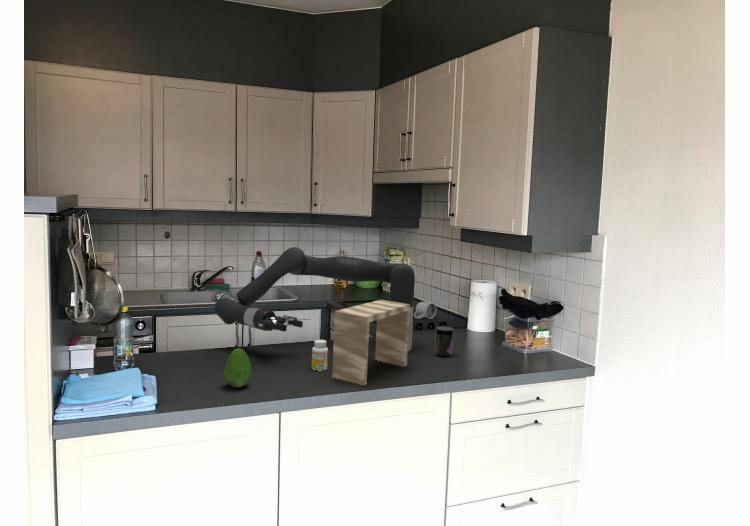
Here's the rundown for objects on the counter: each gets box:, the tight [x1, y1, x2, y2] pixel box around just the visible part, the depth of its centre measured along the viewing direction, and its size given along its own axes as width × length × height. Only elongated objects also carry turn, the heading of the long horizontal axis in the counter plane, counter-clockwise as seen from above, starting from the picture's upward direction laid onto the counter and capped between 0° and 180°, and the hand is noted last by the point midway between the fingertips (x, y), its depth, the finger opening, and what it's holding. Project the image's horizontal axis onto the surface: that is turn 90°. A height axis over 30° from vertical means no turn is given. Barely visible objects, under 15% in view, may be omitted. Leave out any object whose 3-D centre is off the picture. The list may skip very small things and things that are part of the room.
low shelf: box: [331, 299, 410, 387], centre depth 199 cm, size 28×12×22 cm, turn 148°
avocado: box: [224, 347, 252, 389], centre depth 179 cm, size 8×8×12 cm
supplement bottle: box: [311, 339, 329, 372], centre depth 201 cm, size 5×5×10 cm
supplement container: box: [434, 325, 455, 358], centre depth 224 cm, size 7×7×10 cm
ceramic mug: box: [413, 301, 437, 320], centre depth 291 cm, size 11×8×8 cm
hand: (294, 326), depth 206 cm, fingers open, 8 cm apart
